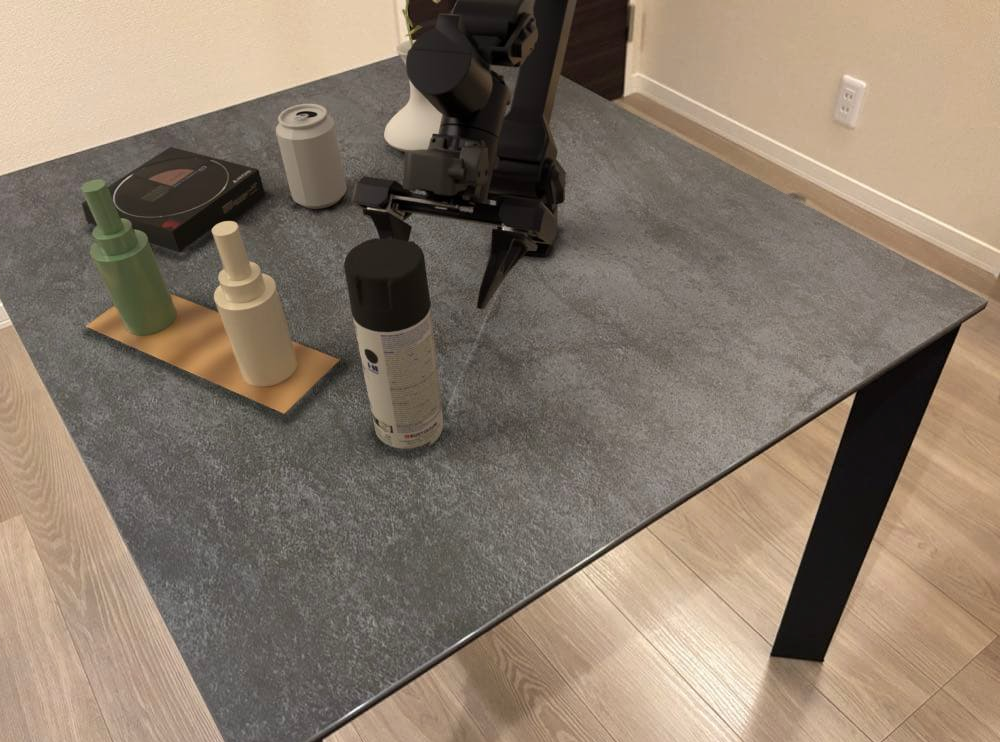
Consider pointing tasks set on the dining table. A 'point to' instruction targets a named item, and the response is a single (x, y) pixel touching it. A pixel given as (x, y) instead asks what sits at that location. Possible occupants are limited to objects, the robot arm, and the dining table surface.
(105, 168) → the dining table surface
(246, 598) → the dining table surface
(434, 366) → the spray can
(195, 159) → the portable cd player
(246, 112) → the dining table surface
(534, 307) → the dining table surface
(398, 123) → the flower in vase
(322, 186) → the can
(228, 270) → the cream bottle
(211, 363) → the board
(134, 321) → the green bottle
